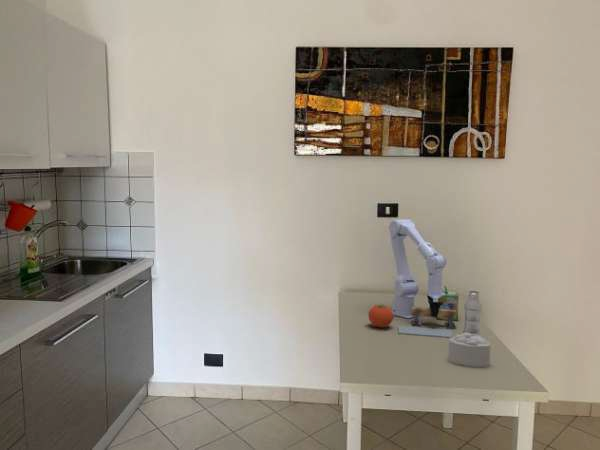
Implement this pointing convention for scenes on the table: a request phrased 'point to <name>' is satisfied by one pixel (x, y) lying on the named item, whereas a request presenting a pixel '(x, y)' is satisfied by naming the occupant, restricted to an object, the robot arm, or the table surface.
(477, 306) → the plastic bottle
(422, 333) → the mat
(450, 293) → the chalk box
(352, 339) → the table surface
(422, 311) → the wavy strip
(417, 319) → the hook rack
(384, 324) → the tomato
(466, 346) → the lumpy-topped squat cylinder
